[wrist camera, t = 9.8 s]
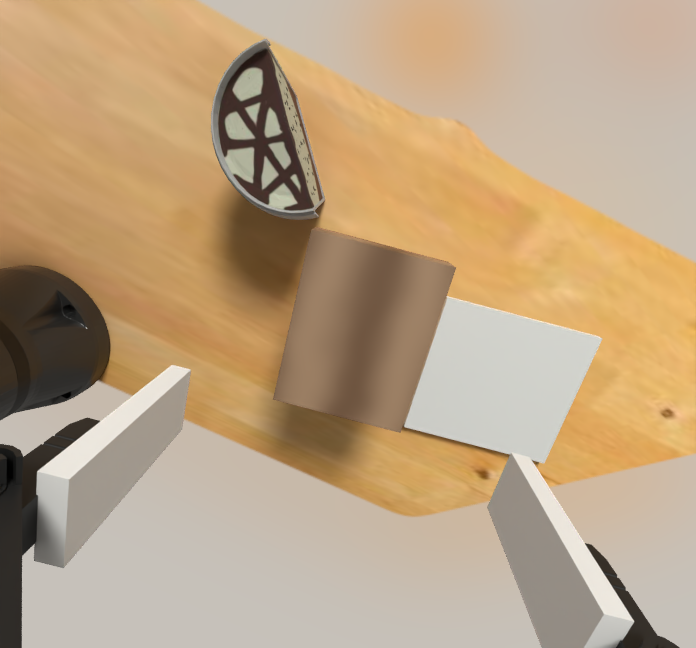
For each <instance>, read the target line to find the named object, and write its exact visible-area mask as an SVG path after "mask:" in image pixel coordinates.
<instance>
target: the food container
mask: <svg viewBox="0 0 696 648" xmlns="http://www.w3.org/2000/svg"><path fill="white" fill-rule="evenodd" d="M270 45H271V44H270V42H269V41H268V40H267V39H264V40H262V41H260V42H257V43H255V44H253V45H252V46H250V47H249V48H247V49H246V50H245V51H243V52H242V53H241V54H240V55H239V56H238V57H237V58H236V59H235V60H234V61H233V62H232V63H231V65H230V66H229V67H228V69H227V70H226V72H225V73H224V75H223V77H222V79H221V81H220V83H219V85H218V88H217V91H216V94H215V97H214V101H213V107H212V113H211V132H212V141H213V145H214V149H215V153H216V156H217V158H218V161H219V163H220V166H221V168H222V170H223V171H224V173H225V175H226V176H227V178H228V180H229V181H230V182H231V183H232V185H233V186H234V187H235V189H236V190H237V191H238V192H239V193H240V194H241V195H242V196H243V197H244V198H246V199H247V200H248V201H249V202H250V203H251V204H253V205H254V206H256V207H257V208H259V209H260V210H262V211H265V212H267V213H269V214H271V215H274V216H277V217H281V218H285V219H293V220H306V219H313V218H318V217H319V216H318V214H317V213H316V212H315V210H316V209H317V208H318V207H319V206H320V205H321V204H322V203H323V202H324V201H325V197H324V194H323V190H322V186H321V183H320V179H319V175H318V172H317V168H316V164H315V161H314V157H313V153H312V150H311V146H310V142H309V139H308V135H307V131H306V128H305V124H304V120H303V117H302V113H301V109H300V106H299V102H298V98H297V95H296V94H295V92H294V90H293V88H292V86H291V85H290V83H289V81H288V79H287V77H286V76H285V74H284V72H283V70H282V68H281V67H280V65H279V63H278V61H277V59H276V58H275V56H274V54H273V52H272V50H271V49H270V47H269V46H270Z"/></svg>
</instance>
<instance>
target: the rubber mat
mask: <svg viewBox="0 0 696 648" xmlns="http://www.w3.org/2000/svg"><path fill="white" fill-rule="evenodd" d="M601 341H602V338H600V337H599V336H596V335H592V334H588V333H584V332H580V331H577V330H573V329H569V328H565V327H562V326H558V325H554V324H550V323H547V322H543V321H539V320H535V319H531V318H528V317H524V316H520V315H516V314H513V313H509V312H505V311H501V310H498V309H494V308H490V307H486V306H482V305H479V304H475V303H471V302H467V301H464V300H460V299H456V298H452V297H449V296H446V299H445V302H444V305H443V308H442V311H441V314H440V317H439V320H438V323H437V326H436V329H435V332H434V335H433V338H432V341H431V344H430V347H429V350H428V353H427V355H426V358H425V361H424V364H423V367H422V370H421V373H420V376H419V379H418V382H417V385H416V388H415V391H414V394H413V397H412V400H411V403H410V406H409V409H408V412H407V415H406V418H405V421H404V427H406V428H410V429H414V430H418V431H422V432H425V433H429V434H433V435H437V436H441V437H445V438H448V439H452V440H456V441H460V442H464V443H468V444H471V445H475V446H479V447H483V448H487V449H491V450H495V451H498V452H502V453H506V454H511V452H512V453H516V454H520V455H524V456H528V457H530V458H531V460H533V461H537V462H541V463H545V460H546V458H547V456H548V454H549V452H550V450H551V448H552V445H553V443H554V441H555V439H556V437H557V435H558V433H559V430H560V428H561V426H562V424H563V422H564V420H565V418H566V415H567V413H568V411H569V409H570V407H571V405H572V403H573V400H574V398H575V396H576V394H577V392H578V390H579V388H580V385H581V383H582V381H583V379H584V377H585V375H586V373H587V370H588V368H589V366H590V364H591V362H592V360H593V358H594V356H595V353H596V351H597V349H598V347H599V345H600V343H601Z"/></svg>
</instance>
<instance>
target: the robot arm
mask: <svg viewBox="0 0 696 648" xmlns="http://www.w3.org/2000/svg"><path fill="white" fill-rule="evenodd" d="M109 350H110V343H109V335H108V330H107V327H106V324H105V321H104V319H103V316H102V314H101V312H100V311H99V309H98V307H97V306H96V304H95V303H94V302H93V300H92V299H91V298H90V297H89V295H88V294H87V293H86V292H85V291H84V290H83V289H82V288H81V287H79V286H78V285H77V284H76V283H74V282H73V281H72V280H70V279H69V278H67V277H65V276H63V275H62V274H60V273H57V272H55V271H52V270H50V269H46V268H43V267H37V266H16V267H10V268H4V269H0V420H2V419H3V418H5V417H7V416H9V415H11V414H13V413H16V412H20V411H25V410H30V409H35V408H39V407H44V406H49V405H53V404H58V403H61V402H64V401H67V400H69V399H71V398H73V397H75V396H77V395H78V394H80V393H81V392H83V391H85V390H86V389H88V388H89V387H91V386H92V385H93V384H94V383H95V382H96V381H97V380H98V379H99V378H100V377H101V375H102V374H103V372H104V370H105V368H106V365H107V362H108V358H109ZM190 374H191V370H190V369H186V368H183V367H179V366H175V365H171V366H170V367H169V368H167V369H166V370H165V371H164V372H162V373H161V374H160V375H159V376H157V377H156V378H155V379H153V380H152V381H151V382H150V383H148V384H147V385H146V386H145V387H143V388H142V389H141V390H140V391H138V392H137V393H136V394H134V395H133V396H132V397H131V398H129V399H128V400H127V401H126V402H124V403H123V404H122V405H121V406H119V407H118V408H117V409H116V410H114V411H113V412H112V413H111V414H109V415H108V416H107V417H105V418H104V419H103V420H102V421H98V420H94V419H90V418H85V419H82V420H79V421H77V422H74V423H72V424H69V425H68V426H66V427H65V428H64V429H62V430H61V431H59V432H58V433H56V434H55V436H52V437H51V438H49V439H48V440H47V441H45V442H44V444H43V445H42V444H41V445H40V446H38V447H37V448H35V449H34V450H33V451H31V452H30V453H28V454H27V455H26V456H24V457H23V455H22V453H21V451H20V450H19V449H17V448H15V447H14V446H10V445H4V444H0V648H22V636H21V635H22V631H21V630H22V555H23V554H24V553H25V552H26V551H27V550H28V549H29V548H30V547H32V546H33V545H34V544H35V547H34V561H37V562H41V563H45V564H49V565H53V566H57V567H61V568H64V567H65V566H66V565H67V563H68V562H69V561H70V560H71V559H72V558H73V556H74V555H75V554H76V553H77V552H78V551H79V549H80V548H81V547H82V546H83V545H84V543H85V542H86V541H87V540H88V539H89V538H90V536H91V535H92V534H93V533H94V532H95V531H96V530H97V528H98V527H99V526H100V525H101V524H102V522H103V521H104V520H105V519H106V518H107V517H108V515H109V514H110V513H111V512H112V511H113V509H114V508H115V507H116V506H117V505H118V504H119V503H120V501H121V500H122V499H123V498H124V497H125V495H126V494H127V493H128V492H129V491H130V490H131V488H132V487H133V486H134V485H135V484H136V482H137V481H138V480H139V479H140V478H141V477H142V476H143V474H144V473H145V472H146V471H147V470H148V469H149V467H150V466H151V465H152V464H153V463H154V462H155V460H156V459H157V458H158V457H159V456H160V454H161V453H162V452H163V451H164V450H165V449H166V447H167V446H168V445H169V444H170V443H171V442H172V440H173V439H174V438H175V437H176V436H177V435H178V433H179V432H180V431H181V430H182V426H183V419H184V413H185V406H186V400H187V393H188V387H189V380H190ZM487 508H488V510H489V513H490V516H491V518H492V521H493V523H494V526H495V528H496V531H497V534H498V536H499V539H500V541H501V544H502V546H503V549H504V552H505V554H506V557H507V559H508V562H509V564H510V567H511V570H512V572H513V575H514V577H515V580H516V582H517V585H518V588H519V590H520V593H521V595H522V598H523V600H524V603H525V605H526V608H527V611H528V613H529V616H530V618H531V621H532V624H533V626H534V629H535V631H536V634H537V637H538V639H539V641H540V644H541V647H542V648H679V647H678V646H677V645H675V644H674V643H672V642H670V641H669V640H667V639H665V638H663V637H660V636H657V634H656V633H655V631H654V630H653V628H652V627H651V625H650V624H649V622H648V621H647V619H646V618H645V616H644V615H643V613H642V612H641V610H640V609H639V607H638V606H637V604H636V603H635V601H634V600H633V598H632V597H631V595H630V594H629V592H628V591H626V590H625V586H624V585H623V583H622V582H621V580H620V579H619V578H617V574H616V573H615V571H614V570H613V568H612V567H611V566H610V564H609V563H608V561H607V560H606V559H605V558H604V557H603V556H602V555H601V554H600V553H599V552H598V551H597V550H596V549H595V548H594V547H593V546H592V545H590V544H586V543H584V542H583V540H582V539H581V537H580V536H579V534H578V533H577V531H576V529H575V528H574V526H573V524H572V523H571V521H570V520H569V518H568V517H567V515H566V513H565V512H564V510H563V509H562V507H561V506H560V504H559V502H558V501H557V499H556V498H555V496H554V495H553V493H552V491H551V490H550V488H549V487H548V485H547V484H546V482H545V480H544V479H543V477H542V476H541V474H540V473H539V471H538V469H537V468H536V466H535V465H534V463H533V462H532V460H531V458H530V457H528V456H524V455H520V454H516V453H512V452H511V454H510V456H509V458H508V461H507V463H506V465H505V468H504V470H503V472H502V475H501V477H500V479H499V481H498V484H497V486H496V488H495V491H494V493H493V495H492V498H491V500H490V502H489V505H488V507H487Z"/></svg>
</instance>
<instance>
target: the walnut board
mask: <svg viewBox="0 0 696 648" xmlns="http://www.w3.org/2000/svg"><path fill="white" fill-rule="evenodd" d="M455 269H456V267H454V266H453V265H451V264H450V263H449V262H446V261H442V260H439V259H435V258H431V257H427V256H424V255H420V254H416V253H412V252H409V251H405V250H401V249H397V248H394V247H390V246H386V245H382V244H379V243H375V242H371V241H368V240H364V239H360V238H356V237H353V236H349V235H345V234H341V233H338V232H334V231H330V230H326V229H323V228H319V227H316V228H313V229H311V233H310V238H309V242H308V247H307V251H306V255H305V260H304V264H303V269H302V273H301V278H300V282H299V287H298V291H297V296H296V300H295V304H294V309H293V313H292V318H291V322H290V327H289V331H288V336H287V340H286V344H285V349H284V353H283V358H282V362H281V367H280V371H279V376H278V380H277V385H276V389H275V393H274V398H273V400H277V401H281V402H285V403H289V404H292V405H296V406H300V407H304V408H308V409H311V410H315V411H319V412H323V413H327V414H331V415H334V416H338V417H342V418H346V419H350V420H354V421H357V422H361V423H365V424H369V425H373V426H376V427H380V428H384V429H388V430H392V431H396V432H399V433H401V430H402V427H403V424H404V421H405V418H406V415H407V412H408V409H409V406H410V403H411V400H412V397H413V394H414V391H415V388H416V385H417V382H418V379H419V376H420V373H421V370H422V367H423V364H424V361H425V358H426V355H427V353H428V350H429V347H430V344H431V341H432V338H433V335H434V332H435V329H436V326H437V323H438V320H439V317H440V314H441V311H442V308H443V305H444V302H445V299H446V296H447V293H448V290H449V287H450V284H451V281H452V278H453V275H454V272H455Z"/></svg>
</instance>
